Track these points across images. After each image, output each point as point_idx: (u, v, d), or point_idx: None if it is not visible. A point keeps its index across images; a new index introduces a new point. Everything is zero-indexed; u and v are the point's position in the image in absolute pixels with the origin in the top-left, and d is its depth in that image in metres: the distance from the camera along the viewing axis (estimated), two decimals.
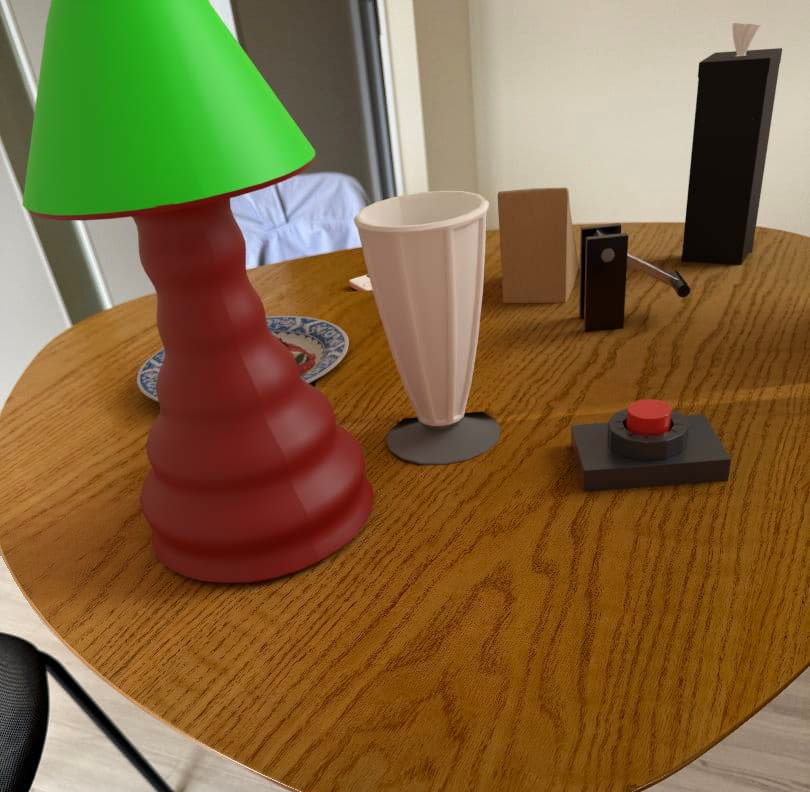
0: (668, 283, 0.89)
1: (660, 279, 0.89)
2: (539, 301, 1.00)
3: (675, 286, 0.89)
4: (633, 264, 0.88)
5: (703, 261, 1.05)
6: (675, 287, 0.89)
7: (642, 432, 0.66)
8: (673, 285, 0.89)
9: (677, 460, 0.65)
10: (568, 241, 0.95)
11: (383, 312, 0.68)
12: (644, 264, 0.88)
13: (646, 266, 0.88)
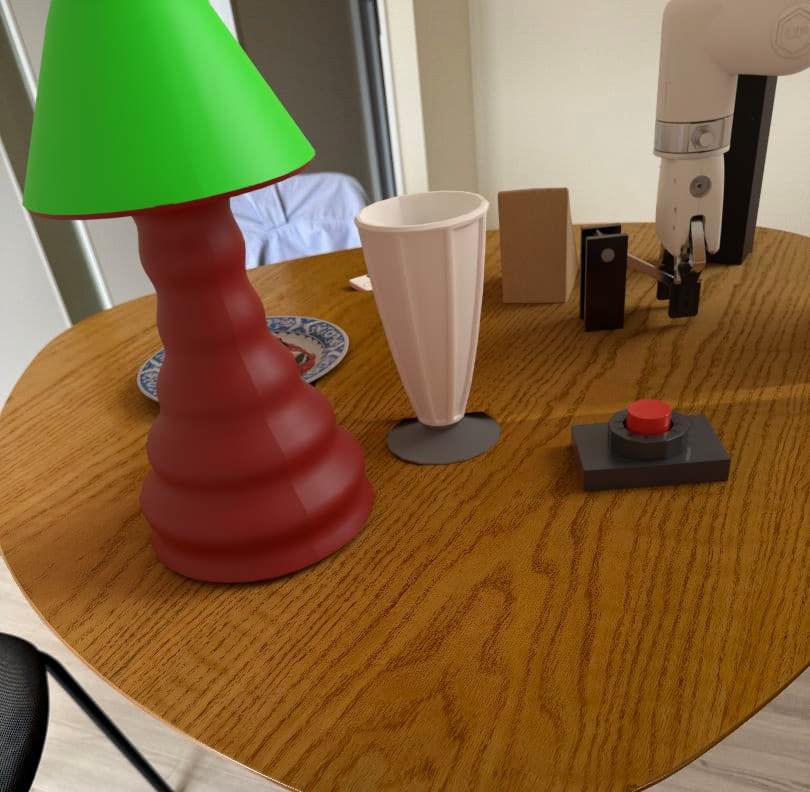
0: (668, 283, 0.89)
1: (660, 279, 0.89)
2: (539, 301, 1.00)
3: None
4: (633, 264, 0.88)
5: None
6: None
7: (642, 432, 0.66)
8: None
9: (677, 460, 0.65)
10: (568, 241, 0.95)
11: (383, 312, 0.68)
12: (644, 264, 0.88)
13: (646, 266, 0.88)
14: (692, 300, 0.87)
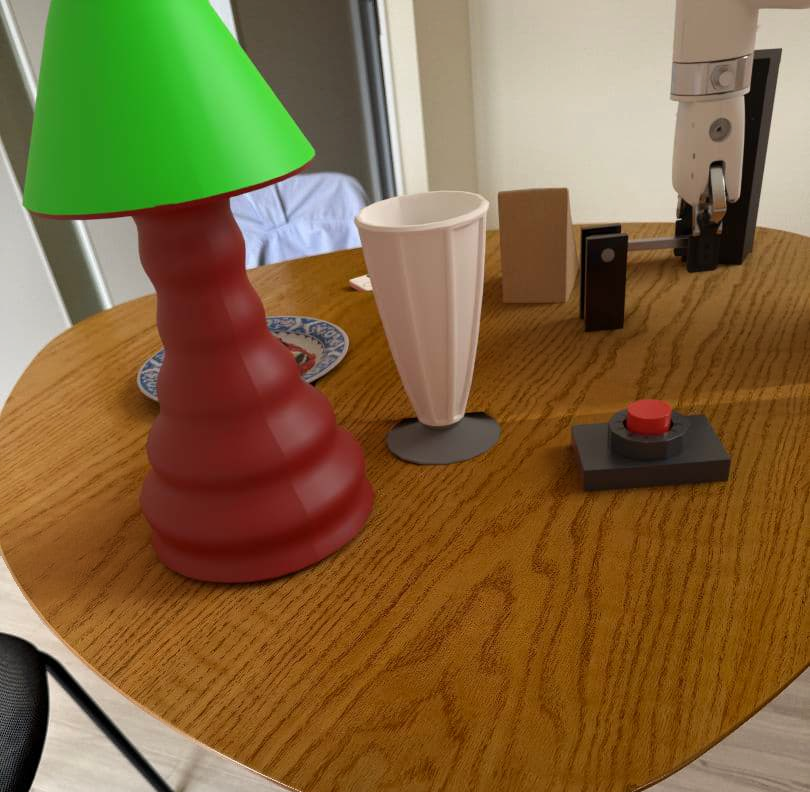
0: (683, 245, 0.87)
1: (673, 246, 0.87)
2: (539, 301, 1.00)
3: None
4: (639, 247, 0.87)
5: None
6: None
7: (642, 432, 0.66)
8: None
9: (677, 460, 0.65)
10: (568, 241, 0.95)
11: (383, 312, 0.68)
12: (650, 242, 0.87)
13: (653, 242, 0.87)
14: (711, 253, 0.84)
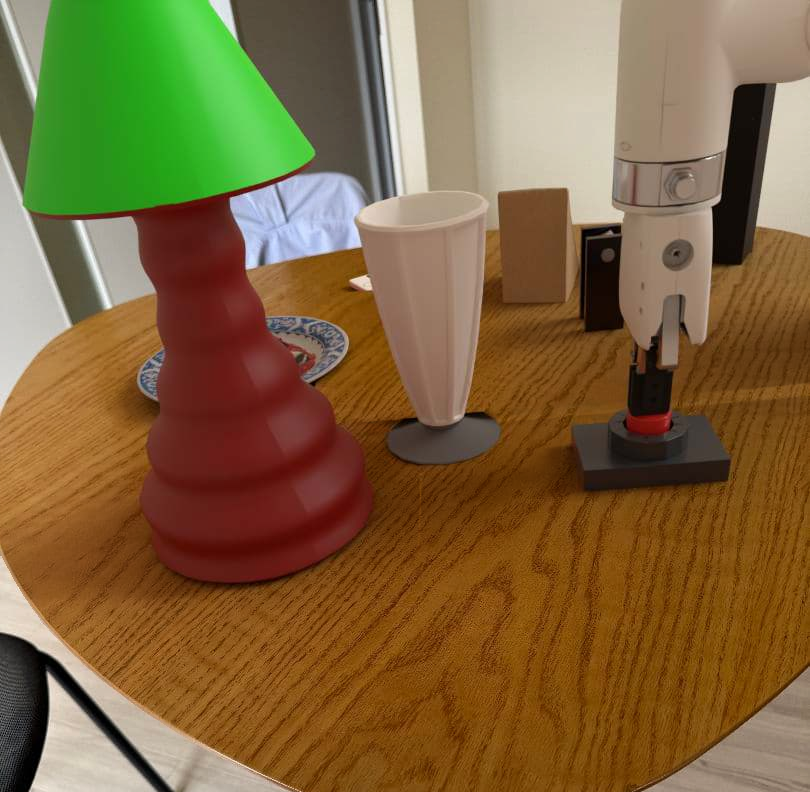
0: None
1: None
2: (539, 301, 1.00)
3: None
4: None
5: None
6: None
7: (642, 434, 0.66)
8: None
9: (677, 460, 0.65)
10: (568, 241, 0.95)
11: (383, 312, 0.68)
12: None
13: None
14: (661, 395, 0.64)
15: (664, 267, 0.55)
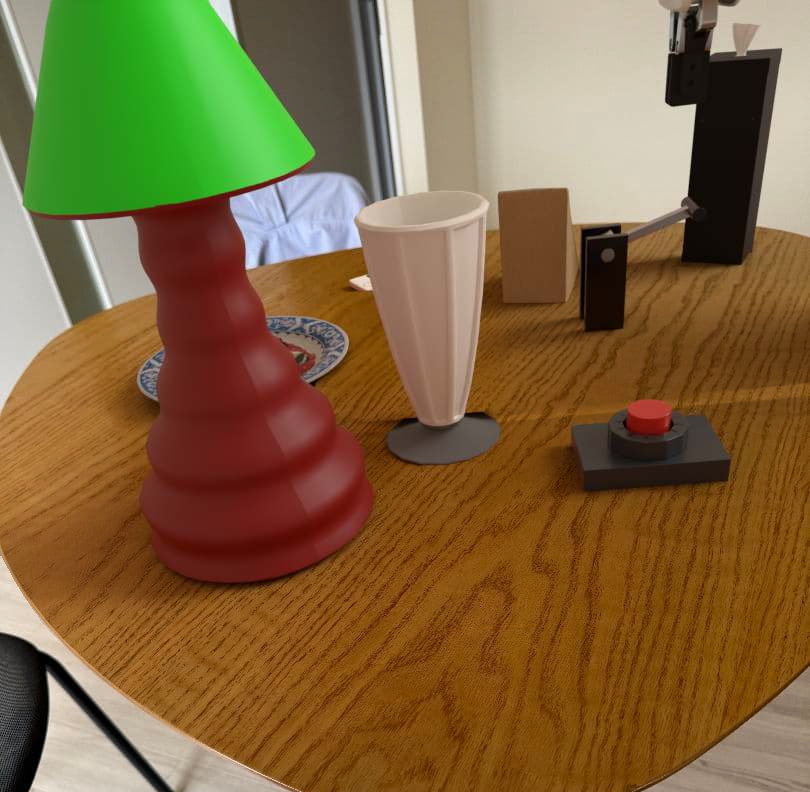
0: (683, 218, 0.85)
1: (673, 222, 0.85)
2: (539, 301, 1.00)
3: (690, 216, 0.84)
4: (639, 235, 0.86)
5: (703, 261, 1.05)
6: None
7: (642, 432, 0.66)
8: (688, 215, 0.85)
9: (677, 460, 0.65)
10: (568, 241, 0.95)
11: (383, 312, 0.68)
12: (648, 226, 0.86)
13: (651, 226, 0.86)
14: (699, 77, 0.68)
15: None
